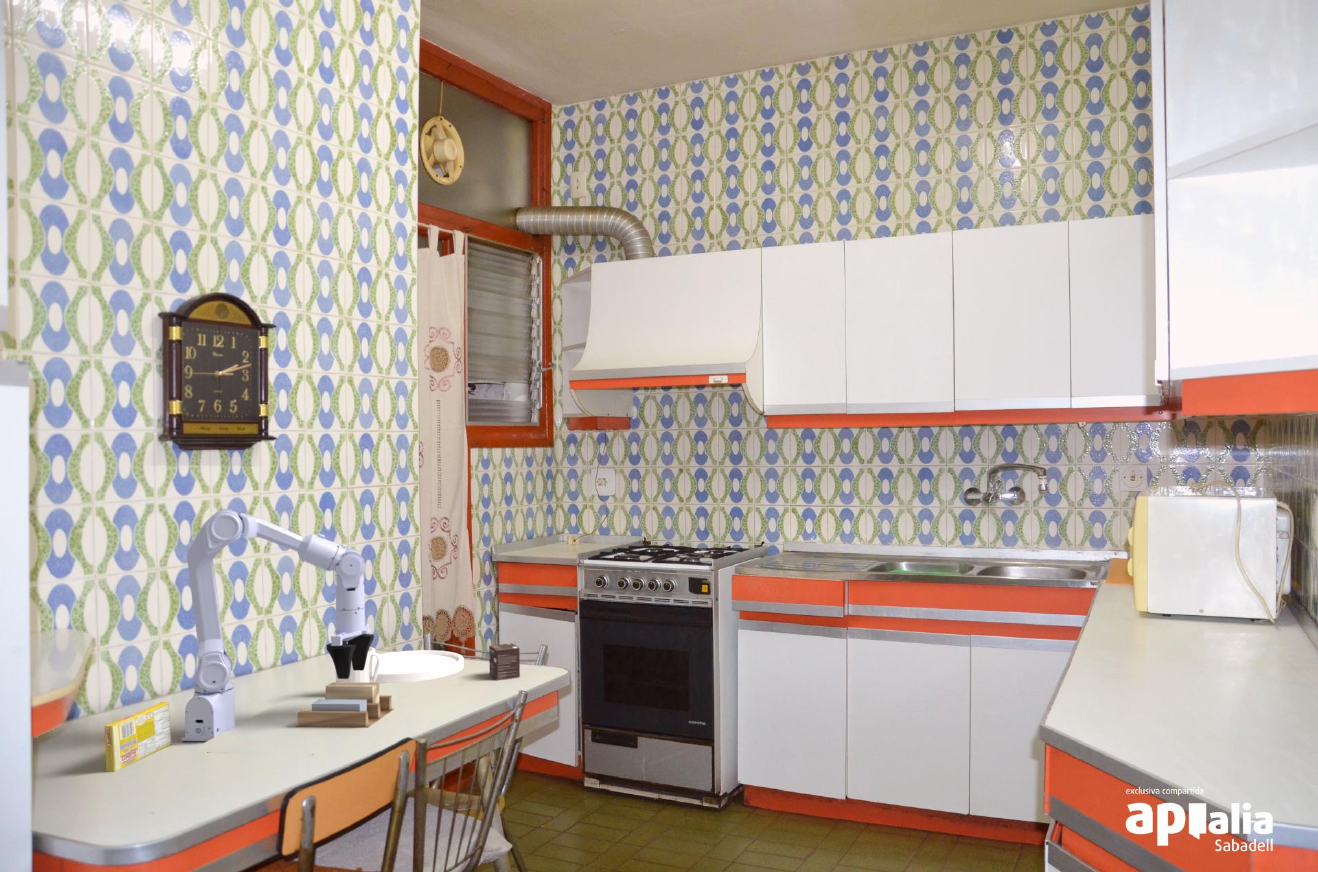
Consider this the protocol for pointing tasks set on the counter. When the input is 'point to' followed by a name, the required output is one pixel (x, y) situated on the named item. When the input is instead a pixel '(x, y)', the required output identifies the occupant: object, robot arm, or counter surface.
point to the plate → (417, 665)
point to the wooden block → (353, 691)
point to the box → (504, 661)
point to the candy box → (137, 736)
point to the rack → (347, 716)
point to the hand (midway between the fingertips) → (351, 674)
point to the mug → (365, 669)
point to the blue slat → (339, 705)
